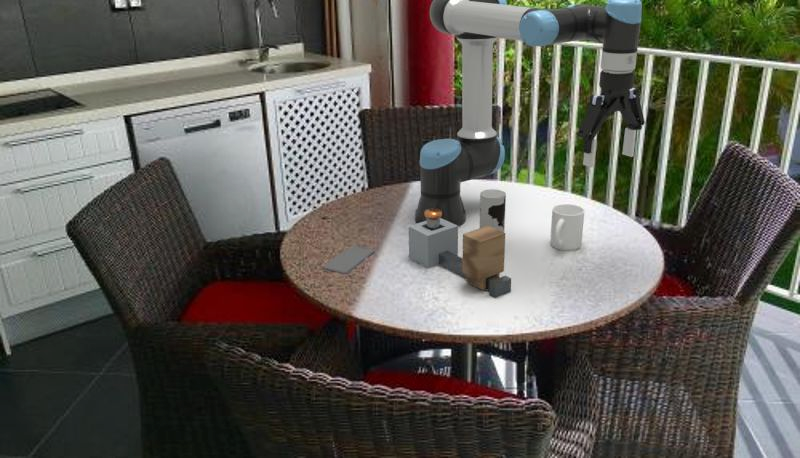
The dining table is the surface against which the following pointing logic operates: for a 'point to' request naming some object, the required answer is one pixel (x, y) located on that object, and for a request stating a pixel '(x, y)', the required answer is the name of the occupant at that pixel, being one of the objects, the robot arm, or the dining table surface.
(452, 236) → the grey block with hole
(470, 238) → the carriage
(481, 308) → the dining table surface
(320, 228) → the dining table surface
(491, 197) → the white printed can
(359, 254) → the smartphone
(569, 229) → the mug
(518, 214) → the dining table surface
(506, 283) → the rail
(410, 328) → the dining table surface
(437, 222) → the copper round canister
